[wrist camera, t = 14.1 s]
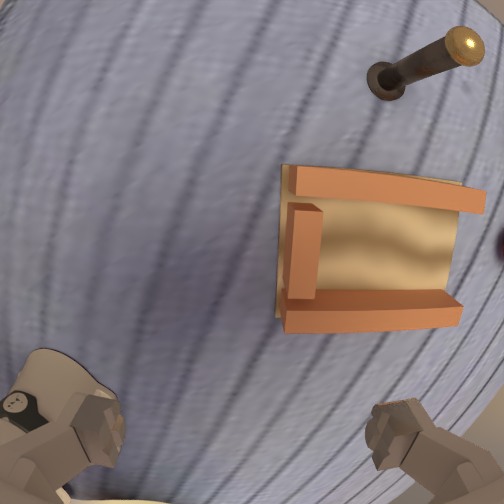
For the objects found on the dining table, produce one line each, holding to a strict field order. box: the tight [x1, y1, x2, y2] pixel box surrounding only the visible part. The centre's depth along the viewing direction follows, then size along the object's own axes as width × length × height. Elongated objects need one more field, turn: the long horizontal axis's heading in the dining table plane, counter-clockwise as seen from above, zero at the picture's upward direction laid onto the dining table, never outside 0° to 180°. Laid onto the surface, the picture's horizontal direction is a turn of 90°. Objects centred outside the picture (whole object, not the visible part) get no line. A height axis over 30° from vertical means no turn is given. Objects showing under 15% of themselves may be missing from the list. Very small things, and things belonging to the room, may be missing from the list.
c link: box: [280, 165, 486, 333], centre depth 29 cm, size 20×15×5 cm
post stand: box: [367, 26, 485, 101], centre depth 20 cm, size 4×4×16 cm
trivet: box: [275, 164, 462, 318], centre depth 32 cm, size 16×21×1 cm
